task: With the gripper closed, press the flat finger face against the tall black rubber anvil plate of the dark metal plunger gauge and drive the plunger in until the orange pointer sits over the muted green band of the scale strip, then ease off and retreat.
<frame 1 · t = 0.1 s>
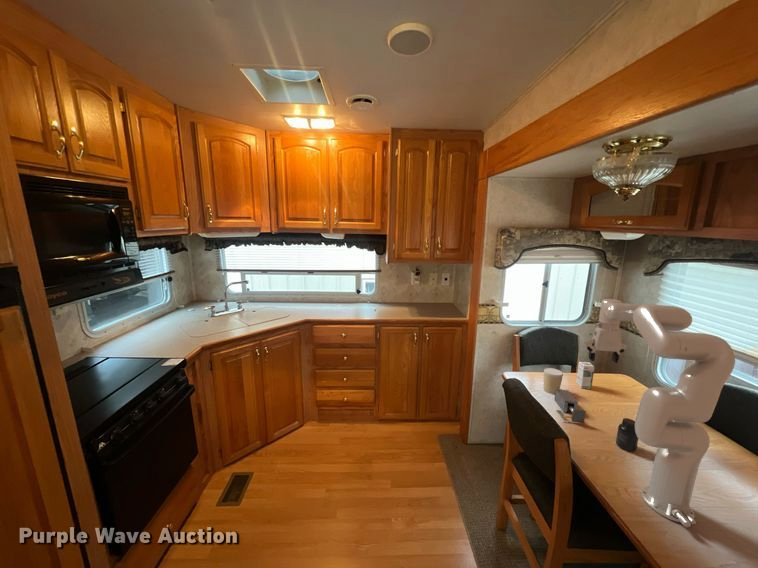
hand: (602, 360, 134), 31 cm above the table, fingers open, 9 cm apart
supplement bottle: (625, 447, 122), on the table
plunger: (569, 409, 142), point 4 cm above the table, slide at 0.0 cm
syrup box: (583, 386, 170), on the table
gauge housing: (568, 411, 146), on the table
coffee cup: (551, 390, 166), on the table
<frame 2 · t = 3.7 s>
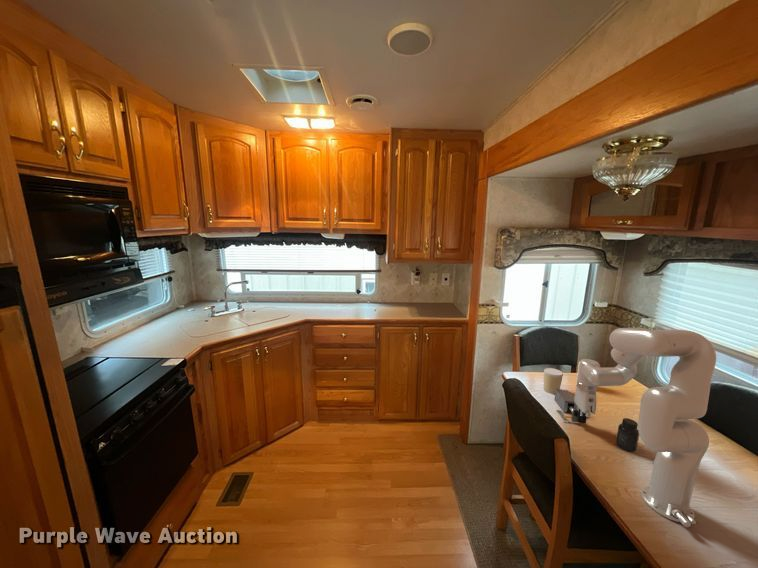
hand: (581, 422, 134), 3 cm above the table, fingers closed
plunger: (569, 409, 142), point 4 cm above the table, slide at 0.0 cm, touching gripper
everything else where it was.
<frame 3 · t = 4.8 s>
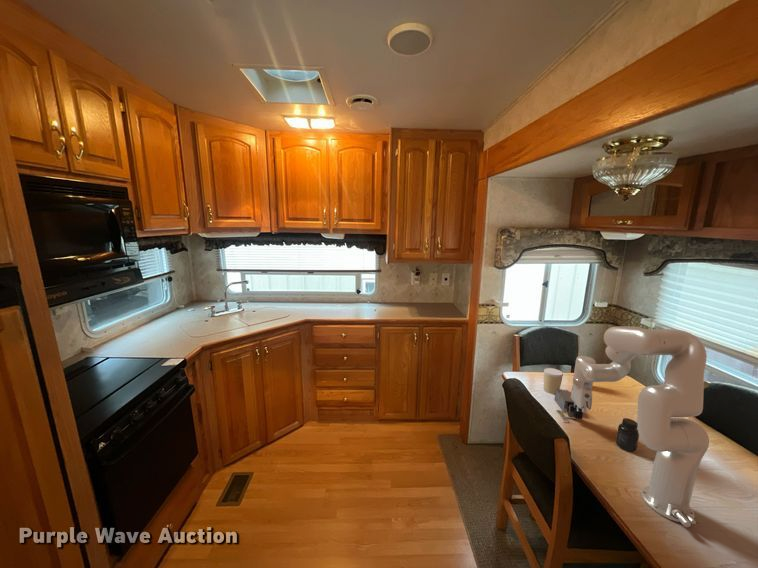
hand: (577, 417, 137), 3 cm above the table, fingers closed
plunger: (566, 405, 145), point 4 cm above the table, slide at 3.6 cm, touching gripper
everything else where it was.
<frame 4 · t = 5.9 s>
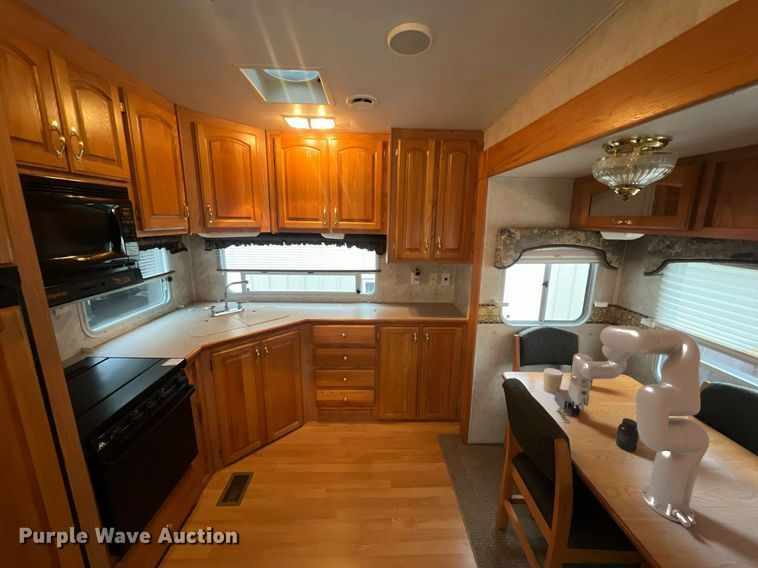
hand: (575, 414, 140), 3 cm above the table, fingers closed
plunger: (564, 402, 148), point 4 cm above the table, slide at 6.2 cm, touching gripper
everything else where it was.
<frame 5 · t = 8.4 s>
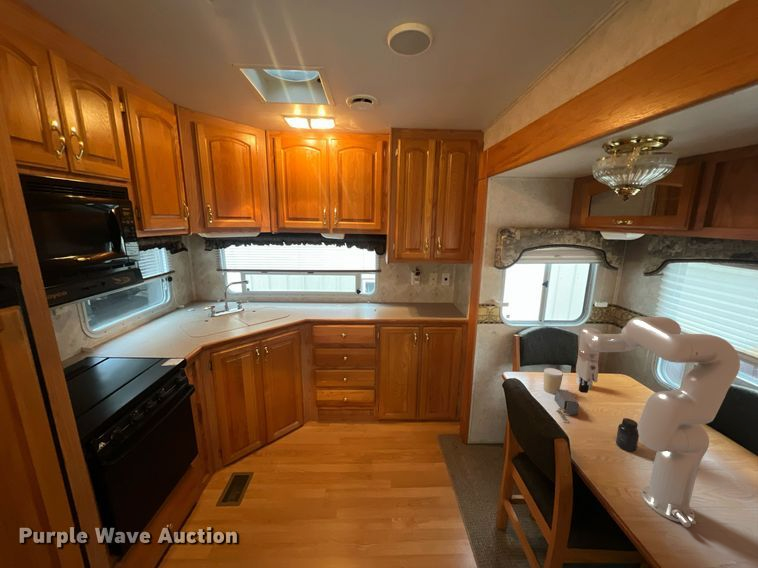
hand: (583, 391, 134), 17 cm above the table, fingers closed
plunger: (564, 402, 148), point 4 cm above the table, slide at 6.2 cm
everything else where it was.
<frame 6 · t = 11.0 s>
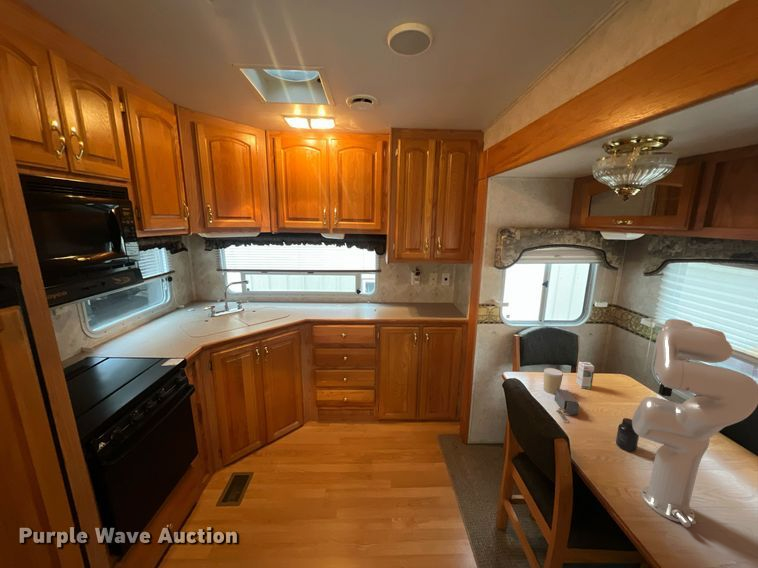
hand: (664, 394, 113), 27 cm above the table, fingers closed
nothing on the table moved.
at the end: plunger slide at 6.2 cm; plunger touching nothing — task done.
